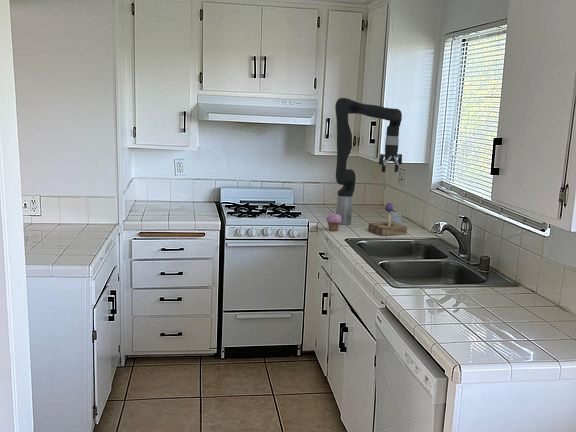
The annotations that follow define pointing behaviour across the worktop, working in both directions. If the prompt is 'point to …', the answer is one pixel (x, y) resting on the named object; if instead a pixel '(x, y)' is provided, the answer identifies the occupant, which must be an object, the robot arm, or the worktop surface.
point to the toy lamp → (389, 209)
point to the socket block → (387, 229)
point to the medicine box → (396, 217)
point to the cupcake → (334, 221)
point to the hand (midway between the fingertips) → (389, 172)
